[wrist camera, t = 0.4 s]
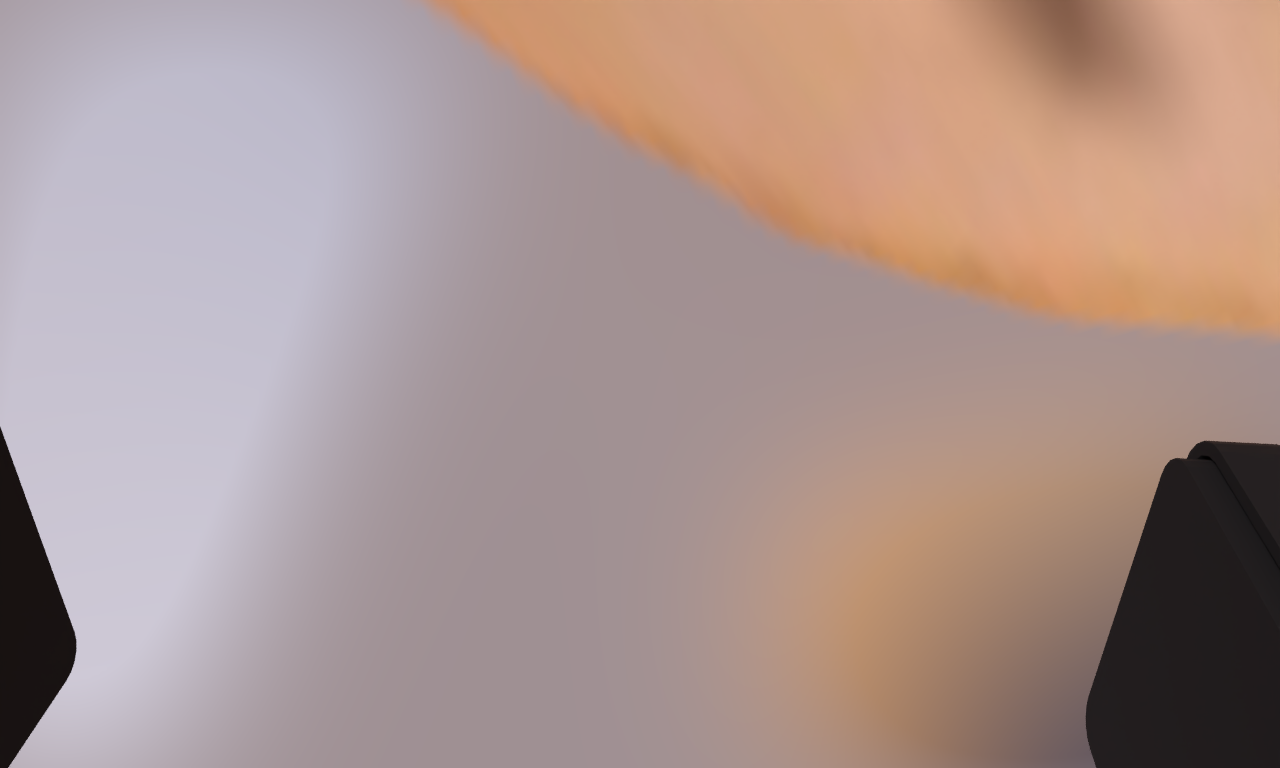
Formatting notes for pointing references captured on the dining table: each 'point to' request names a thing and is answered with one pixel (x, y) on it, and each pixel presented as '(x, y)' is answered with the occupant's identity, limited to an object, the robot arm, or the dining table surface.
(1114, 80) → the dining table surface
